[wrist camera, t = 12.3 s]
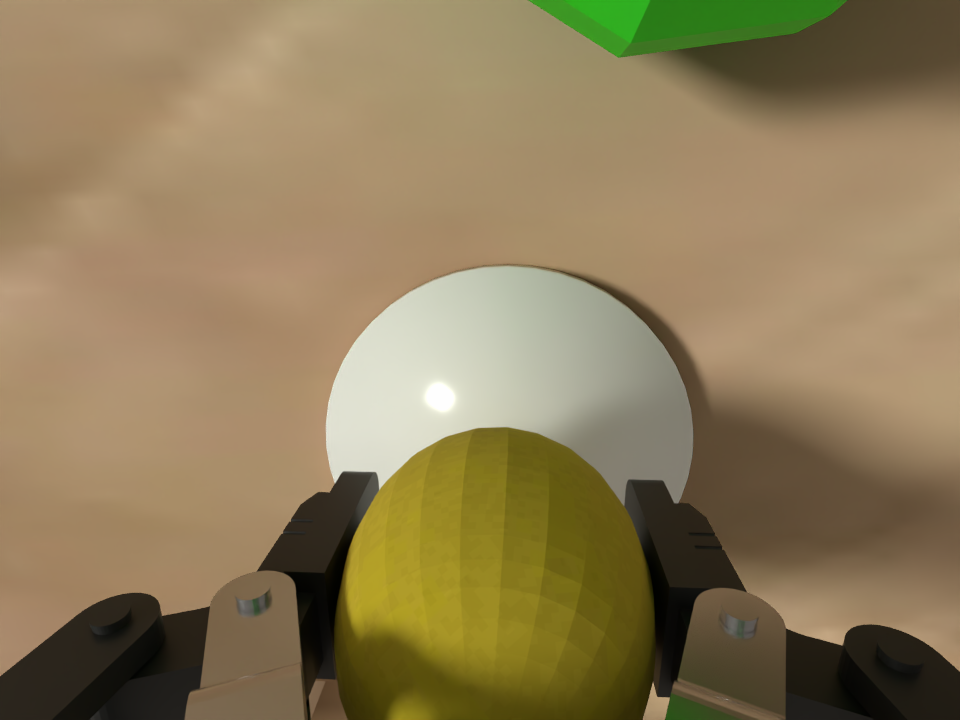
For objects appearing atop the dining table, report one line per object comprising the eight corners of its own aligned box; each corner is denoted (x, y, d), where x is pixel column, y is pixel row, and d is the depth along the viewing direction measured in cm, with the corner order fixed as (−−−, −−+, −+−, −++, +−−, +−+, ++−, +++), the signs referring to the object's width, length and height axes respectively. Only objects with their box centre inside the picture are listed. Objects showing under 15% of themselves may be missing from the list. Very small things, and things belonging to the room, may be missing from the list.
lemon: (625, 558, 15) (738, 961, 7) (417, 583, 16) (321, 976, 8) (599, 357, 13) (707, 602, 6) (368, 393, 14) (188, 657, 6)
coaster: (346, 581, 18) (340, 594, 18) (317, 263, 15) (309, 266, 15) (669, 594, 18) (674, 608, 17) (707, 264, 14) (714, 268, 14)
